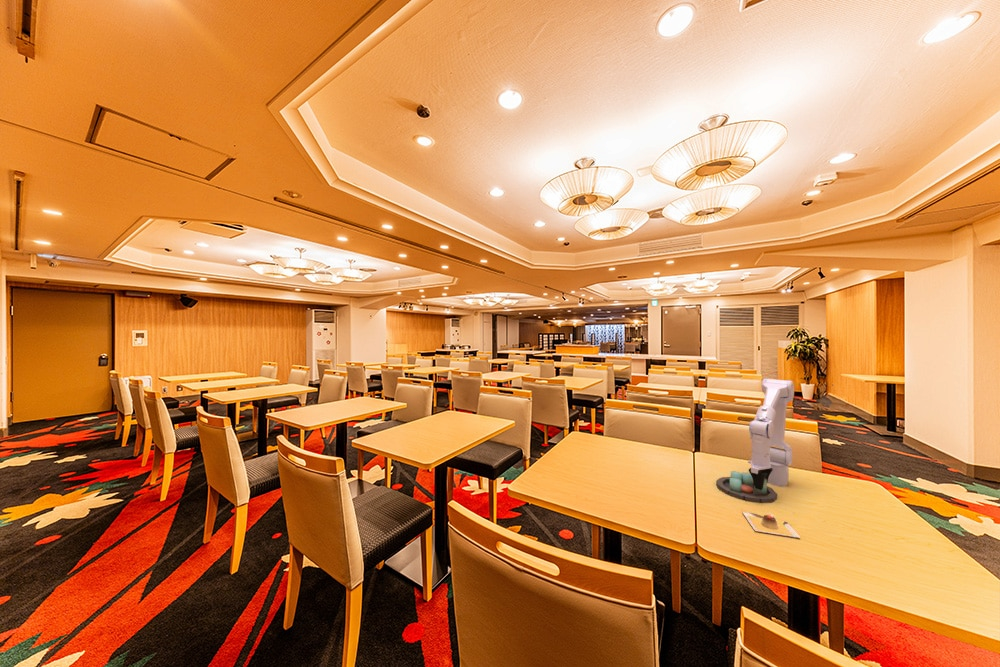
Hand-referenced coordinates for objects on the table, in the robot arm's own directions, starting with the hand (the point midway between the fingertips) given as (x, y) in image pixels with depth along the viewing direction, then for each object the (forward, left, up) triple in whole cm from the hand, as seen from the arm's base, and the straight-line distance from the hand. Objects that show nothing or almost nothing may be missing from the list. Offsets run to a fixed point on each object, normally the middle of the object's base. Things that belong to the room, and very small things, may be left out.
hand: (760, 487), depth 132 cm
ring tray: (0, -5, -4) cm, 7 cm away
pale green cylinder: (-5, -6, -3) cm, 8 cm away
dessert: (+20, +8, -5) cm, 22 cm away
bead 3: (0, 0, -2) cm, 2 cm away
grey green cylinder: (+5, -7, -3) cm, 9 cm away
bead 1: (-3, -9, -3) cm, 10 cm away
